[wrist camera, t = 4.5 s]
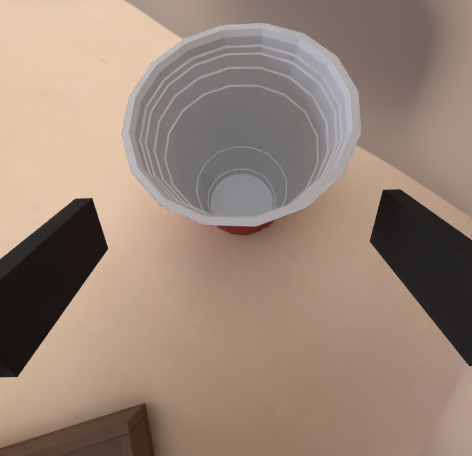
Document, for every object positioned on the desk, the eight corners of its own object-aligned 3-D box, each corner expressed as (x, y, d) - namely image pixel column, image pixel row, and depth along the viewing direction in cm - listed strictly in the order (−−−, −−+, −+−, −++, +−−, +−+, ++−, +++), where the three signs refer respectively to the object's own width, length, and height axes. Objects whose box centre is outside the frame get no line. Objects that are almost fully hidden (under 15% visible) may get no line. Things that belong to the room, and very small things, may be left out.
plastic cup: (197, 135, 25) (159, -5, 14) (312, 161, 24) (377, 34, 13) (159, 247, 23) (73, 190, 11) (287, 280, 22) (341, 256, 10)
